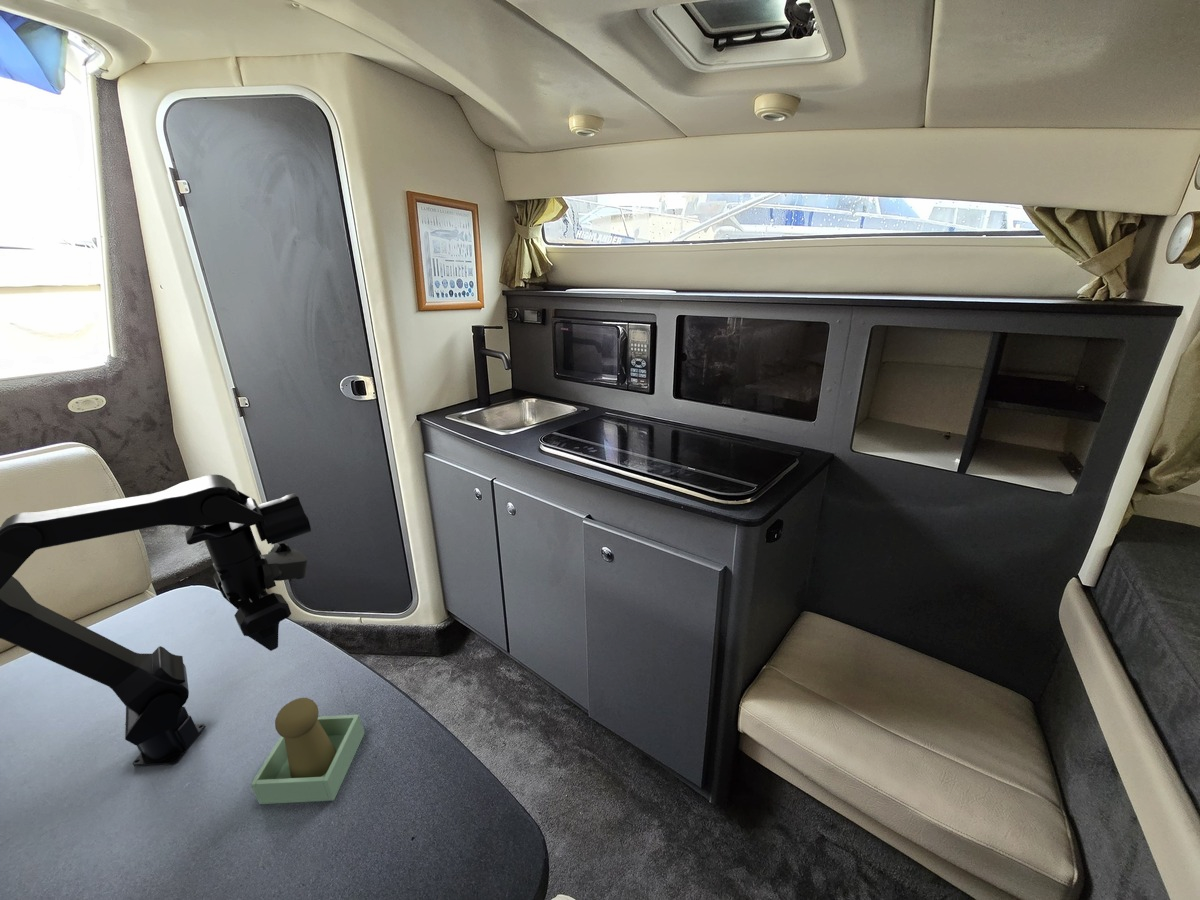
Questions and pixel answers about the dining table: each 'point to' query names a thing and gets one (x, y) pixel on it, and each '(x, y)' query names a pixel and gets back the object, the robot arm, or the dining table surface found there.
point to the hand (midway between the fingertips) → (265, 635)
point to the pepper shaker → (304, 739)
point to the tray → (281, 788)
